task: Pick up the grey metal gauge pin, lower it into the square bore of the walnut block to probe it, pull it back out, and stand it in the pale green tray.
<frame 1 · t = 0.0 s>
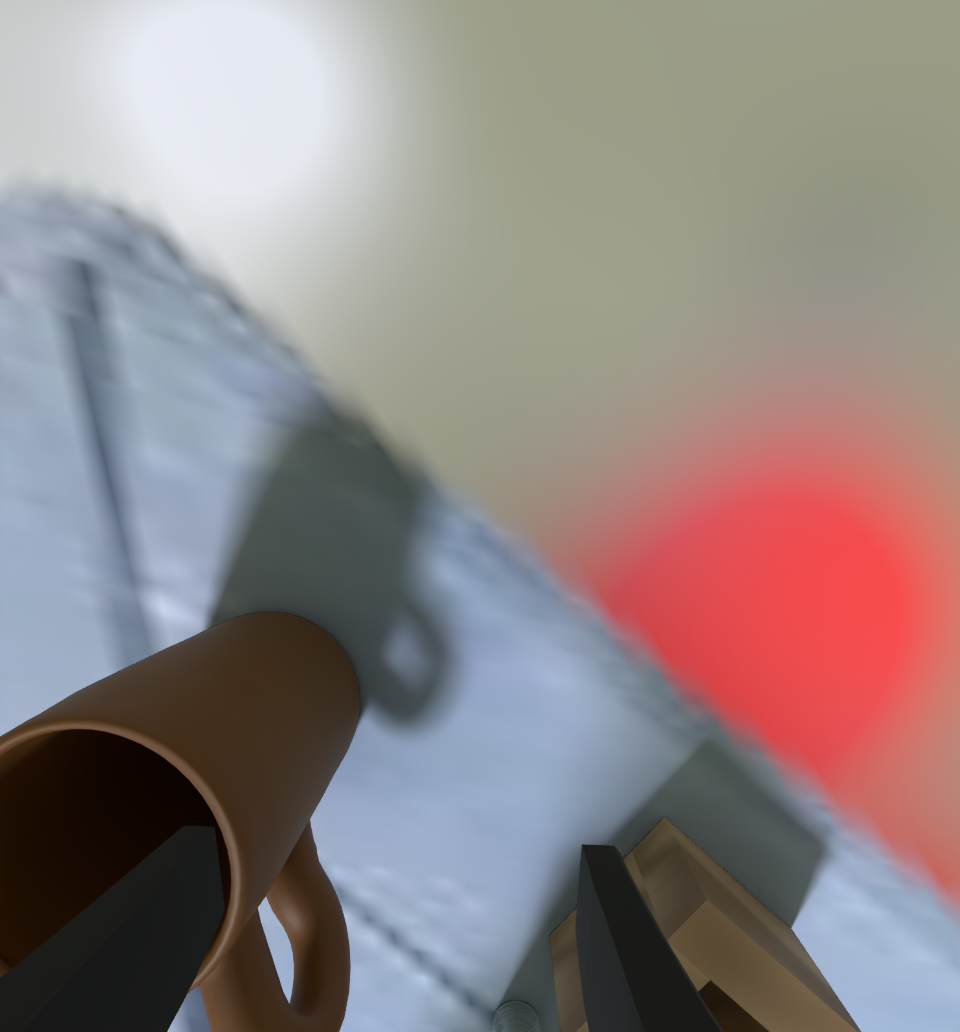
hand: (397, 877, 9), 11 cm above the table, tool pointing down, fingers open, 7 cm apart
walnut block: (669, 932, 20), on the table
gauge pin: (515, 1022, 20), on the table
mug: (309, 734, 20), on the table
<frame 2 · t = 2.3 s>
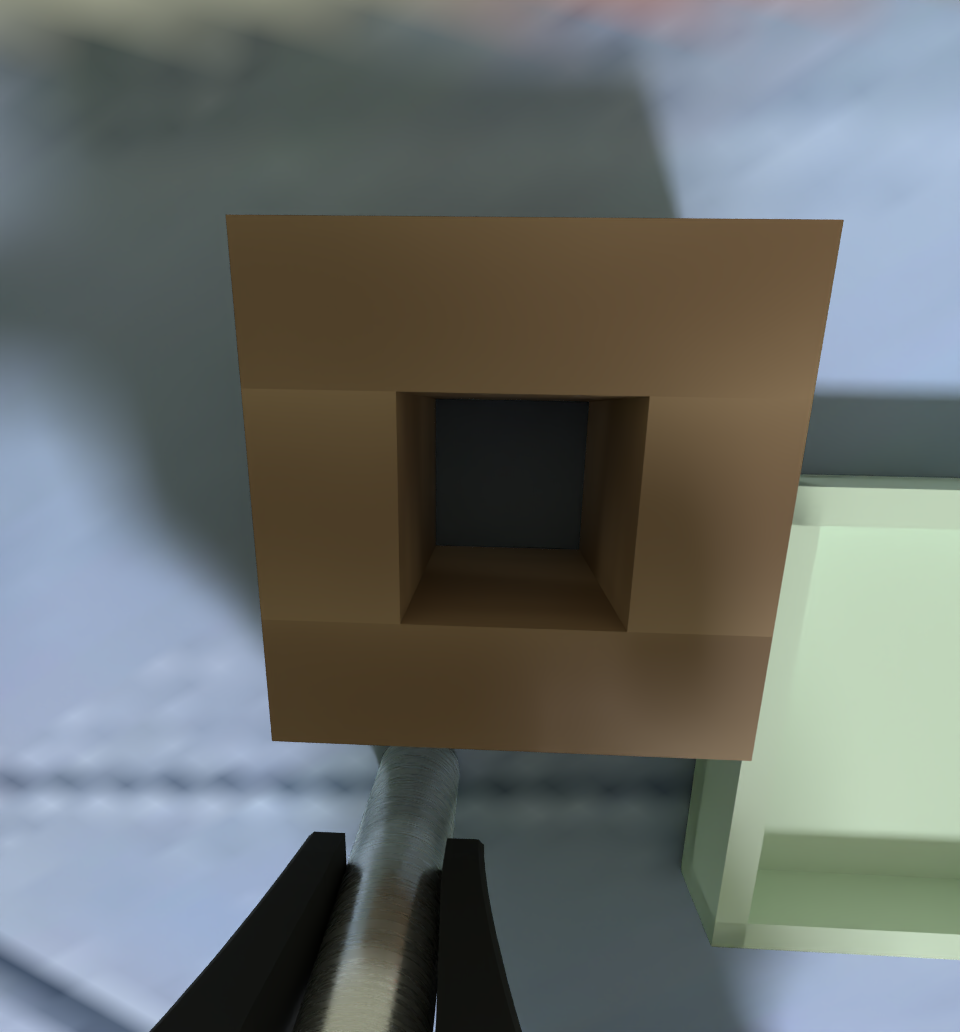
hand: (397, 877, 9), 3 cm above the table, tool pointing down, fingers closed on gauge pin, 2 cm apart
walnut block: (509, 476, 10), on the table
gauge pin: (420, 769, 12), on the table, touching gripper
tray: (887, 698, 11), on the table
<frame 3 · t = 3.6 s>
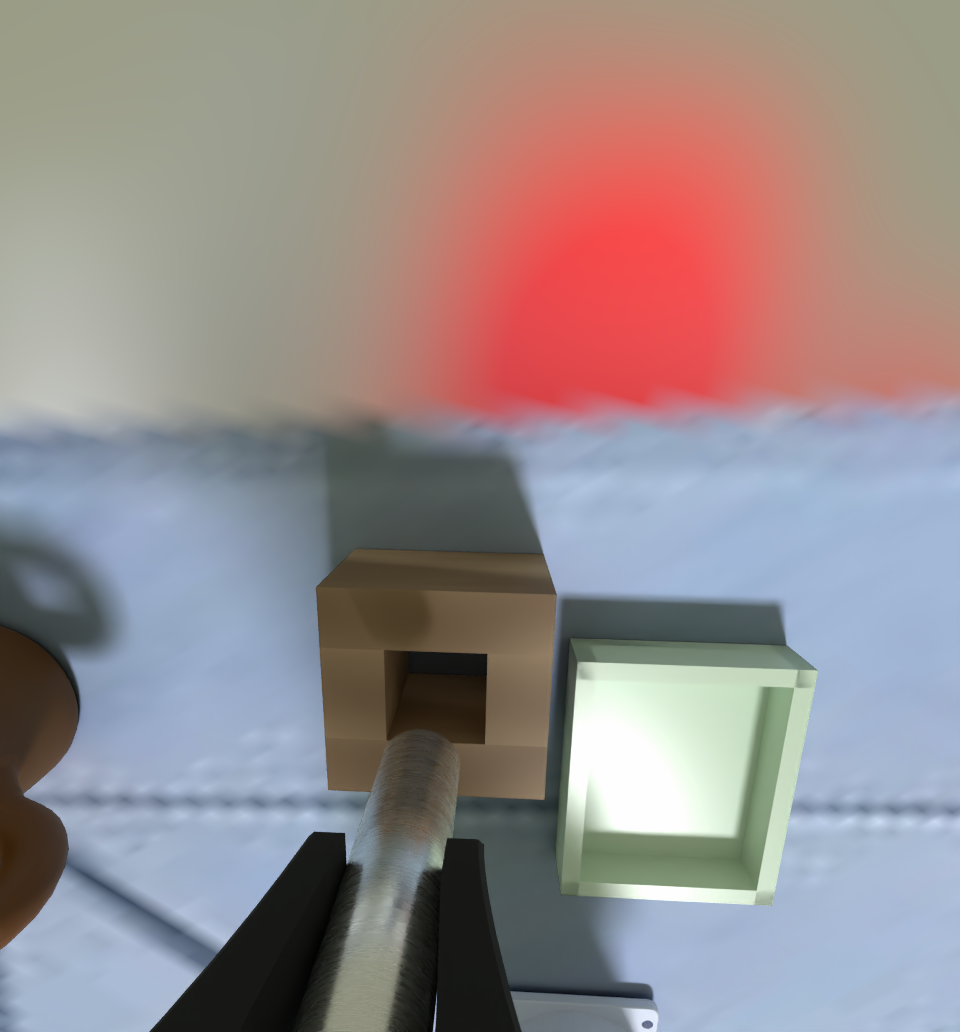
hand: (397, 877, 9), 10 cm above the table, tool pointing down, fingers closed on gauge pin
walnut block: (448, 638, 19), on the table
gauge pin: (421, 763, 12), point 7 cm above the table, touching gripper
tray: (663, 756, 20), on the table
mug: (55, 707, 20), on the table
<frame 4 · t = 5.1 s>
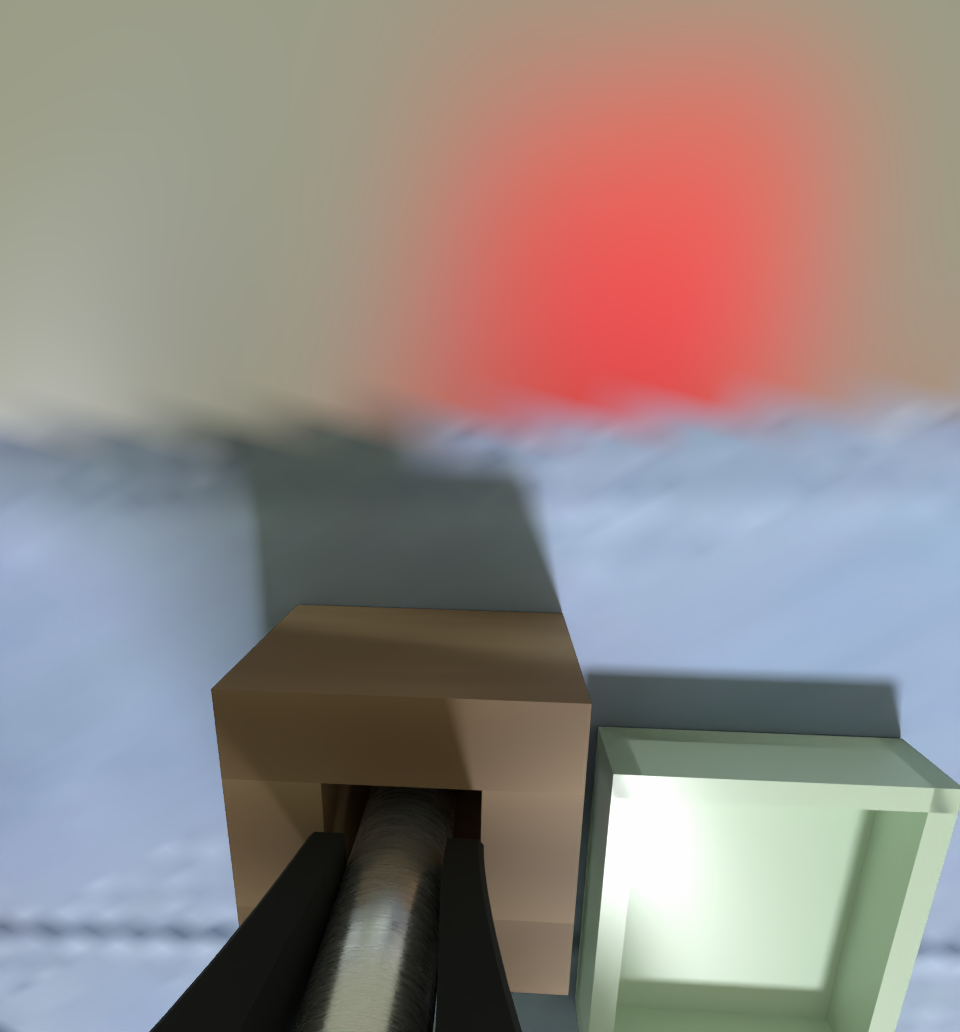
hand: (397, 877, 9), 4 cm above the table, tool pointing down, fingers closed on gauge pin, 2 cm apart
walnut block: (429, 725, 14), on the table
gauge pin: (421, 763, 12), point 1 cm above the table, touching gripper
tray: (724, 881, 14), on the table
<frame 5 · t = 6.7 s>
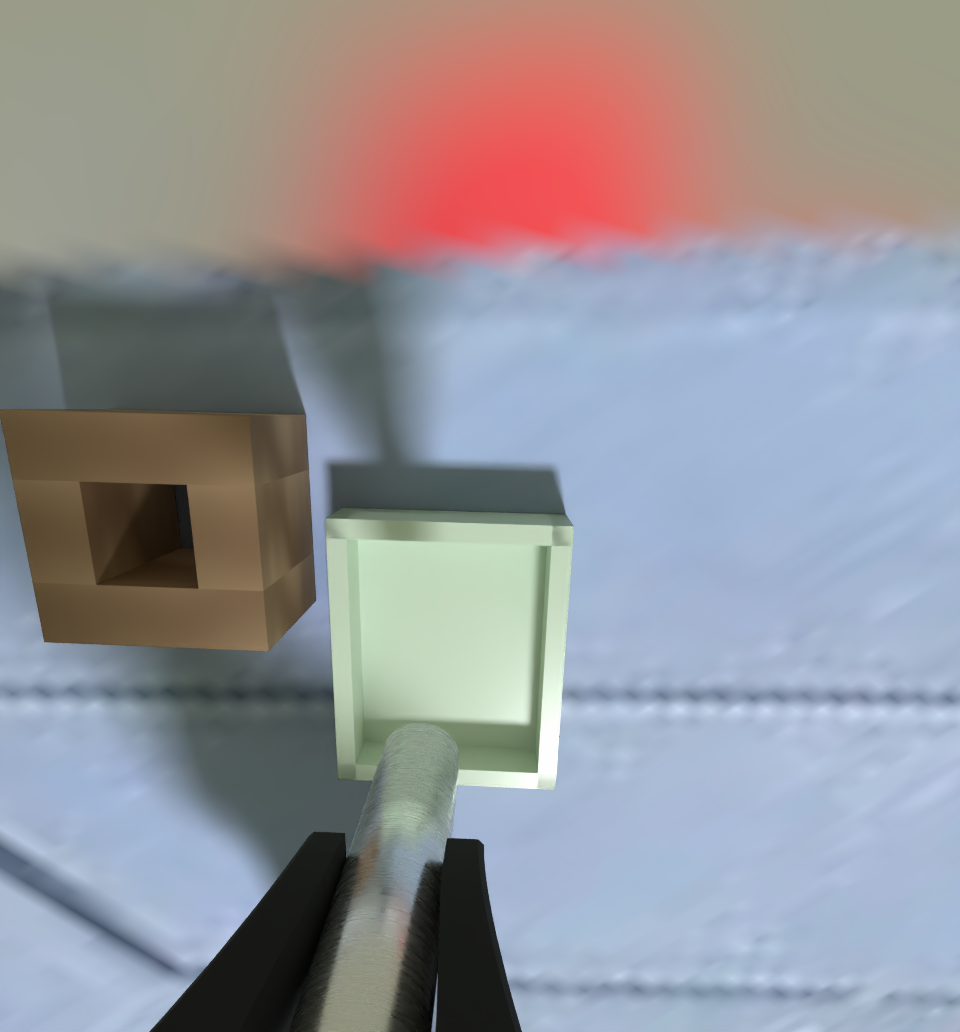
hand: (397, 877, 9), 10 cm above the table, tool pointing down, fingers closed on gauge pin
walnut block: (217, 508, 18), on the table
gauge pin: (421, 756, 12), point 7 cm above the table, touching gripper
tray: (451, 638, 19), on the table
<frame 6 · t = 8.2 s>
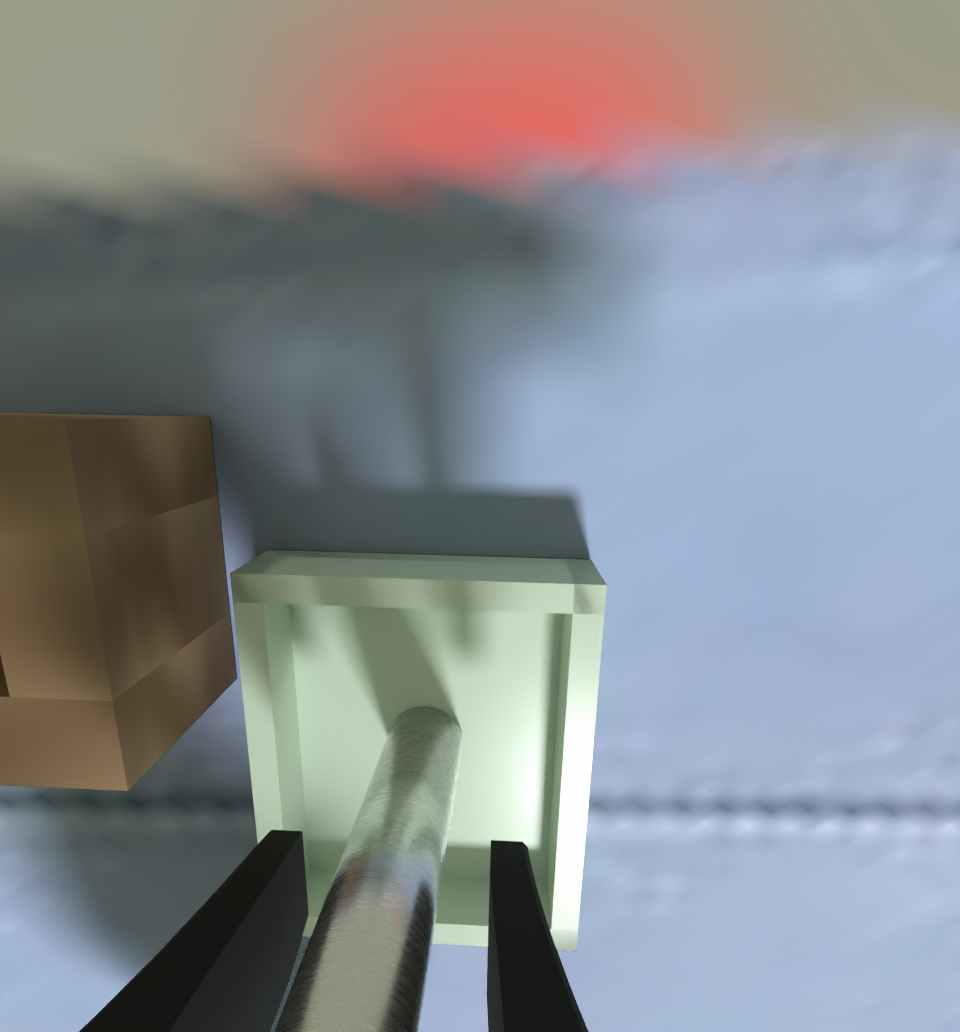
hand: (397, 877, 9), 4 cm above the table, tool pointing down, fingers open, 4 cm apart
walnut block: (90, 551, 13), on the table
gauge pin: (426, 738, 13), point 1 cm above the table, touching tray
tray: (428, 730, 13), on the table
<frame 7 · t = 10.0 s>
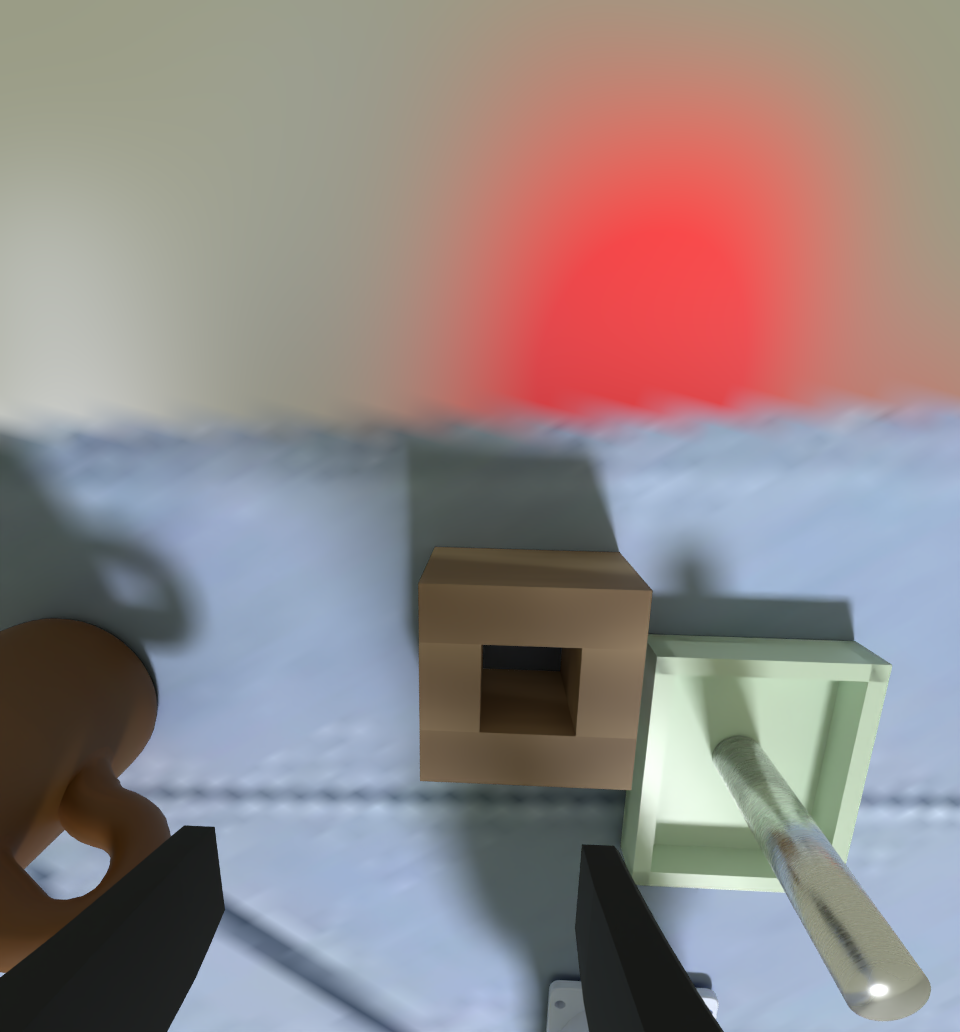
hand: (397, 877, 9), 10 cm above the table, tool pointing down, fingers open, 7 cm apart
walnut block: (522, 634, 19), on the table
gauge pin: (737, 756, 20), point 1 cm above the table, touching tray
tray: (730, 749, 20), on the table
mug: (133, 701, 21), on the table
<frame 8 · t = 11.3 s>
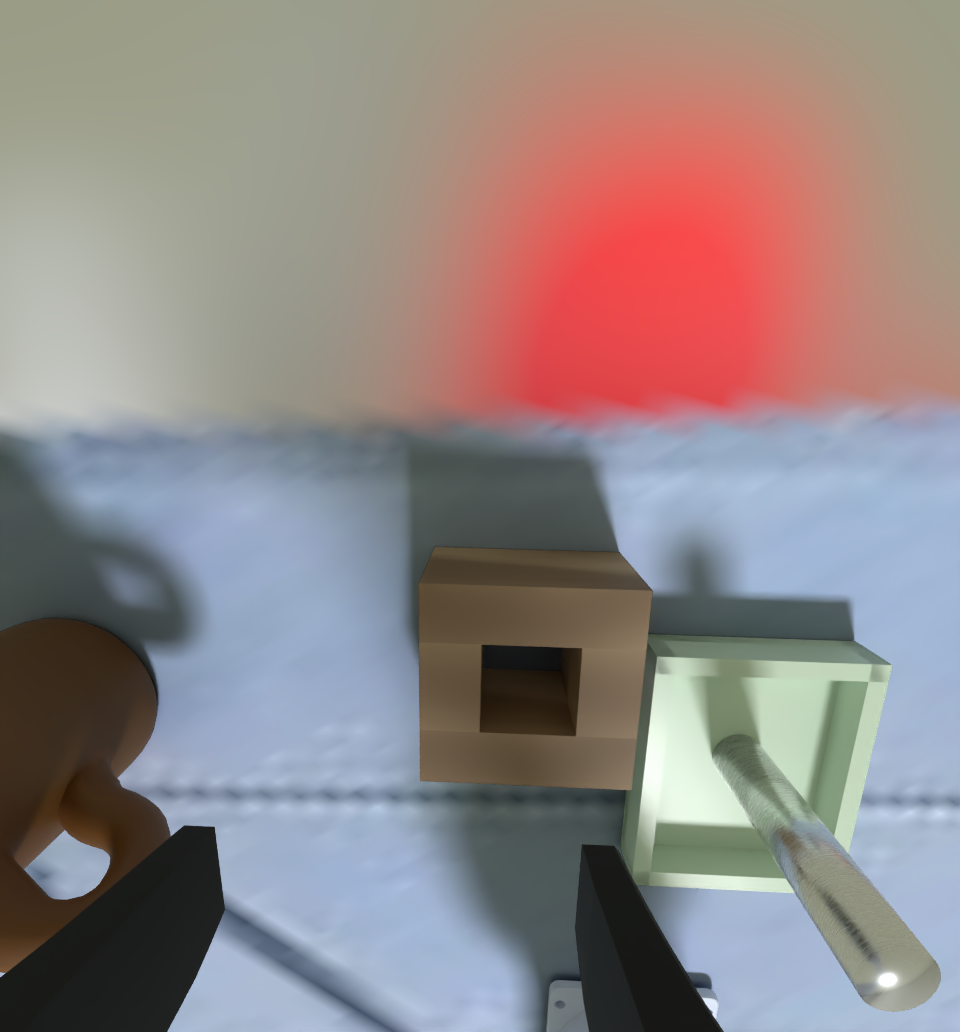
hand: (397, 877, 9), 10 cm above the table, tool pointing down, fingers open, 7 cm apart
walnut block: (523, 634, 19), on the table
gauge pin: (737, 755, 20), point 1 cm above the table, touching tray
tray: (730, 750, 20), on the table
mug: (133, 701, 21), on the table
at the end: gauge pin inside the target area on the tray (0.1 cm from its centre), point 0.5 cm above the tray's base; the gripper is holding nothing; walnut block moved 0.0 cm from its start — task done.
